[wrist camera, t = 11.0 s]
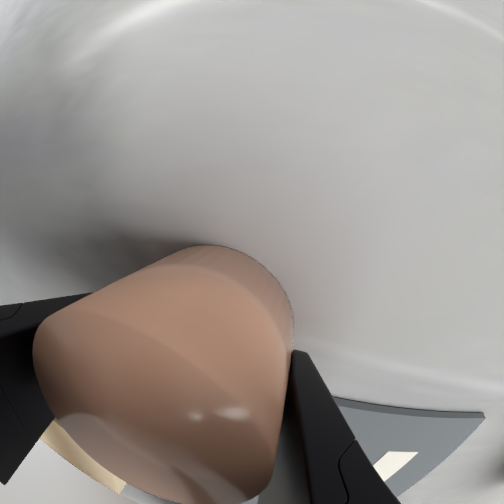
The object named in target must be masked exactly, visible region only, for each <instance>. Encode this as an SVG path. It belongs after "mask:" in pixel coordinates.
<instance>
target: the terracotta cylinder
mask: <svg viewBox="0 0 504 504" xmlns="http://www.w3.org/2000/svg"><path fill="white" fill-rule="evenodd" d="M293 336H294V318H293V312H292V308H291V305H290V302H289V300H288V298H287V295H286V293H285V291H284V290H283V288H282V287H281V285H280V283H279V282H278V281H277V280H276V278H275V277H274V276H273V275H272V274H271V273H270V272H269V271H268V270H267V269H266V268H265V267H264V266H263V265H261V264H260V263H259V262H257V261H256V260H254V259H253V258H251V257H249V256H247V255H245V254H244V253H241V252H239V251H236V250H234V249H230V248H226V247H222V246H214V245H199V246H193V247H189V248H186V249H183V250H180V251H178V252H176V253H173V254H171V255H169V256H167V257H165V258H163V259H161V260H159V261H157V262H155V263H152V264H150V265H148V266H146V267H144V268H142V269H140V270H138V271H136V272H134V273H132V274H130V275H128V276H126V277H124V278H122V279H120V280H118V281H116V282H114V283H112V284H110V285H108V286H106V287H104V288H102V289H100V290H98V291H96V292H94V293H92V294H90V295H88V296H86V297H84V298H82V299H80V300H78V301H76V302H74V303H72V304H71V305H69V306H67V307H65V308H63V309H61V310H59V311H57V312H55V313H53V314H52V315H50V316H49V317H47V318H46V319H45V320H44V321H43V322H42V323H41V324H40V325H39V327H38V329H37V331H36V333H35V337H34V341H33V351H32V352H33V364H34V369H35V374H36V377H37V381H38V384H39V386H40V389H41V391H42V394H43V396H44V398H45V400H46V402H47V404H48V406H49V407H50V409H51V411H52V412H53V414H54V416H55V417H56V419H57V420H58V422H59V423H60V424H61V426H62V427H63V428H64V430H65V431H66V432H67V433H68V435H69V436H70V437H71V438H72V439H73V440H74V441H75V442H76V444H77V445H78V446H79V447H80V448H81V449H82V450H83V451H85V452H86V453H87V454H88V455H89V456H90V457H91V458H92V459H93V460H95V461H96V462H97V463H98V464H100V465H101V466H102V467H104V468H105V469H106V470H108V471H109V472H110V473H112V474H113V475H115V476H117V477H118V478H120V479H121V480H123V481H125V482H127V483H128V484H130V485H132V486H134V487H136V488H138V489H140V490H142V491H144V492H147V493H149V494H152V495H154V496H157V497H160V498H163V499H166V500H169V501H172V502H177V503H181V504H240V503H243V502H246V501H248V500H251V499H253V498H254V497H256V496H257V495H259V494H260V493H261V492H262V491H263V490H264V489H265V488H266V487H267V486H268V484H269V482H270V481H271V478H272V474H273V470H274V465H275V459H276V454H277V448H278V442H279V436H280V430H281V424H282V418H283V411H284V405H285V398H286V391H287V384H288V376H289V369H290V361H291V353H292V344H293Z"/></svg>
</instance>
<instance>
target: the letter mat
mask: <svg viewBox="0 0 504 504" xmlns="http://www.w3.org/2000/svg"><path fill="white" fill-rule="evenodd" d="M333 398H334V400H335V402H336V404H337V406H338V407H339V409H340V411H341V413H342V414H343V416H344V418H345V420H346V421H347V423H348V425H349V427H350V428H351V430H352V432H353V434H354V435H355V437H356V439H355V440H358V442H359V444H360V446H361V447H362V449H363V451H364V452H365V454H366V456H367V457H368V459H369V461H370V462H371V464H372V465H373V467H374V468H375V470H376V471H377V472H378V474H379V475H380V477H381V478H382V480H383V481H384V482H385V484H386V485H387V486H388V487H389V489H390V490H391V491H392V493H393V494H394V495H395V497H397V496H399V495H400V494H402V493H403V492H404V491H406V490H407V489H409V488H410V487H411V486H413V485H414V484H415V483H417V482H418V481H419V480H421V479H422V478H423V477H425V476H426V475H427V474H428V473H429V472H431V471H432V470H433V469H434V468H436V467H437V466H438V465H439V464H440V463H441V462H442V461H444V460H445V459H446V458H447V457H448V456H449V455H450V454H451V453H452V452H453V451H455V450H456V449H457V448H458V447H459V446H460V445H461V444H462V443H463V442H464V441H465V440H466V439H467V438H468V437H469V436H470V435H471V434H472V433H473V431H474V430H475V429H476V428H477V427H478V426H479V425H480V424H481V423H482V422H483V421H484V419H485V416H484V413H467V412H440V411H426V410H415V409H405V408H396V407H388V406H381V405H374V404H368V403H362V402H356V401H350V400H345V399H340V398H335V397H333ZM258 497H259V495H257V496H256V497H254V498H253V499H251V500H248V501H246V502H243V503H240V504H257V503H258Z"/></svg>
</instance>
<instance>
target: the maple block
mask: <svg viewBox="0 0 504 504" xmlns="http://www.w3.org/2000/svg"><path fill="white" fill-rule="evenodd" d="M40 439H41V440H42V441H43V442H44V443H46V444H47V445H48V446H49V447H50V448H52V449H53V450H54V451H55V452H57V453H58V454H59V455H60V456H62V457H63V458H64V459H66V460H67V461H69V462H70V463H71V464H72V465H74V466H75V467H77V468H78V469H79V470H81V471H82V472H84V473H85V474H87V475H88V476H90V477H91V478H93V479H94V480H96V481H97V482H99V483H101V484H102V485H104V486H106V487H107V488H109V489H111V490H112V491H114V492H116V493H118V494H120V493H121V491H122V490H123V488H124V487H125V485H126V483H127V482H125V481H123V480H121V479H120V478H118V477H117V476H115V475H113V474H112V473H110V472H109V471H108V470H106V469H105V468H104V467H102V466H101V465H100V464H98V463H97V462H96V461H95V460H93V459H92V458H91V457H90V456H89V455H88V454H87V453H86V452H85V451H83V450H82V449H81V448H80V447H79V446H78V445H77V444H76V442H75V441H74V440H73V439H72V438H71V437H70V436H69V435H68V433H67V432H66V431H65V430H64V428H63V427H62V426H61V424H60V423H59V422H58V420H57V419H56V417H55V419H54V420H53V421H52V423H51V424H50V425H49V426H48V428H47V429H46V430H45V432H44V433H43V434H42V435H41V437H40Z"/></svg>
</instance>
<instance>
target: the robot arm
mask: <svg viewBox="0 0 504 504" xmlns="http://www.w3.org/2000/svg"><path fill="white" fill-rule="evenodd" d="M92 293H94V292H92ZM92 293H86V294H79V295H73V296H66V297H59V298H53V299H46V300H39V301H32V302H25V303H24V304H23V303H18V304H10V305H2V306H0V482H1V483H2V484H4V485H5V484H6V483H7V482H8V480H9V479H10V478H11V477H12V475H13V474H14V472H15V471H16V470H17V468H18V467H19V465H20V464H21V463H22V461H23V460H24V458H25V457H26V456H27V454H28V453H29V452H30V450H31V449H32V448H33V446H34V445H35V443H36V442H37V441H38V439H39V438H40V437H41V435H42V434H43V433H44V432H45V430H46V429H47V428H48V426H49V425H50V424H51V423H52V421H53V420H54V419H55V416H54V414H53V412H52V411H51V409H50V407H49V406H48V404H47V402H46V400H45V398H44V396H43V394H42V391H41V389H40V386H39V384H38V381H37V377H36V374H35V369H34V364H33V352H32V351H33V341H34V337H35V333H36V331H37V329H38V327H39V325H40V324H41V323H42V322H43V321H44V320H45V319H46V318H47V317H49V316H50V315H52V314H53V313H55V312H57V311H59V310H61V309H63V308H65V307H67V306H69V305H71V304H72V303H74V302H76V301H78V300H80V299H82V298H84V297H86V296H88V295H90V294H92ZM355 439H356V437H355V435H354V434H353V432H352V430H351V428H350V427H349V425H348V423H347V421H346V420H345V418H344V416H343V414H342V413H341V411H340V409H339V407H338V406H337V404H336V402H335V400H334V398H333V397H332V395H331V393H330V391H329V390H328V388H327V386H326V384H325V383H324V381H323V379H322V377H321V376H320V374H319V372H318V370H317V369H316V367H315V365H314V363H313V362H312V360H311V358H310V356H309V355H308V353H306V352H303V351H299V350H293V351H292V353H291V361H290V369H289V376H288V384H287V391H286V398H285V405H284V411H283V418H282V424H281V430H280V436H279V442H278V448H277V454H276V459H275V465H274V470H273V474H272V478H271V481H270V482H269V484H268V486H267V487H266V488H265V489H264V490H263V491H262V492H261V493H260V494H259V497H258V503H257V504H401V503H400V502H399V500H398V499H397V498H396V497H395V495H394V494H393V493H392V491H391V490H390V489H389V487H388V486H387V485H386V484H385V482H384V481H383V480H382V478H381V477H380V475H379V474H378V472H377V471H376V470H375V468H374V467H373V465H372V464H371V462H370V461H369V459H368V457H367V456H366V454H365V452H364V451H363V449H362V447H361V446H360V444H359V442H358V440H355Z"/></svg>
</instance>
